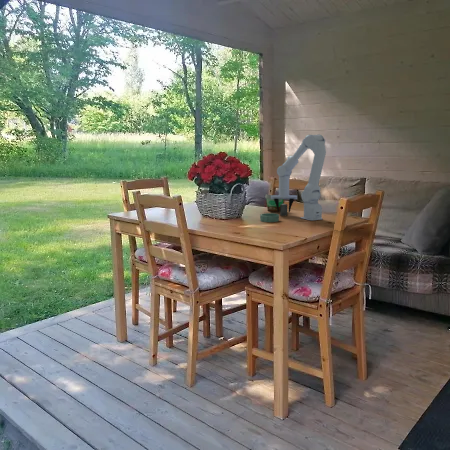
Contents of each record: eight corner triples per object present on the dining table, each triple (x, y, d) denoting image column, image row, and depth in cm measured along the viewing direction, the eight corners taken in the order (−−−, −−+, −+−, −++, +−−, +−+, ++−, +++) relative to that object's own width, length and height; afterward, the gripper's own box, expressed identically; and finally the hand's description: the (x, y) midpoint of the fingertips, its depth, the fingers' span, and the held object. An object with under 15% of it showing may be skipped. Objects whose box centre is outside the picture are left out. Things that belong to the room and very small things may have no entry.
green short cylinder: (282, 220, 243) (282, 215, 243) (267, 222, 238) (267, 216, 238) (271, 218, 251) (271, 212, 251) (256, 219, 247) (256, 214, 246)
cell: (288, 215, 260) (288, 204, 258) (282, 216, 258) (283, 204, 256) (284, 214, 263) (284, 203, 262) (278, 215, 261) (278, 203, 260)
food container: (263, 212, 272) (263, 195, 270) (265, 210, 278) (265, 193, 276) (284, 212, 268) (284, 195, 266) (285, 211, 274) (286, 194, 272)
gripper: (296, 187, 261) (296, 210, 263) (270, 187, 262) (270, 210, 265) (297, 188, 254) (297, 213, 256) (270, 188, 255) (270, 212, 258)
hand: (283, 212), depth 260 cm, fingers open, 5 cm apart
